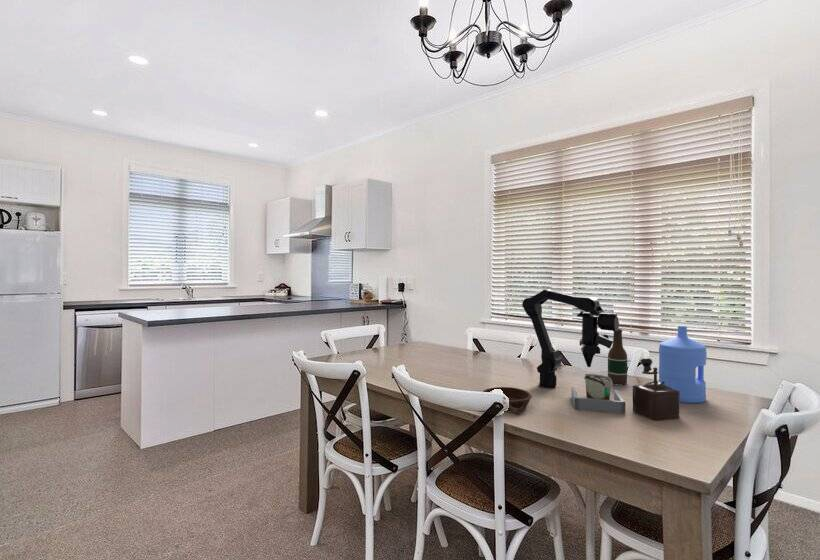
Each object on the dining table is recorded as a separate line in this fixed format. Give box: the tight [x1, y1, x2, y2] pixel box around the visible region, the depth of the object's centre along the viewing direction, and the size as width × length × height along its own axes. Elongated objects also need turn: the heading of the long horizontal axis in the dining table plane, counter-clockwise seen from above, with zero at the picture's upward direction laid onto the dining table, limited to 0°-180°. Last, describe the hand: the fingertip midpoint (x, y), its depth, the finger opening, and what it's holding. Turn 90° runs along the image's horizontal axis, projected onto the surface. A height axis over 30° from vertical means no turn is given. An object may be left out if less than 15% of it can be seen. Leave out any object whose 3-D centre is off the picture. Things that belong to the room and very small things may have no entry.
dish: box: [482, 386, 533, 414], centre depth 154 cm, size 18×22×5 cm
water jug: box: [658, 325, 707, 404], centre depth 163 cm, size 16×16×28 cm
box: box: [571, 386, 626, 414], centre depth 155 cm, size 16×15×4 cm
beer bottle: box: [607, 328, 628, 386], centre depth 185 cm, size 8×8×24 cm
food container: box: [584, 373, 614, 400], centre depth 156 cm, size 12×6×10 cm, turn 13°
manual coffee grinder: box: [632, 357, 681, 422], centre depth 147 cm, size 16×11×18 cm
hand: (588, 366), depth 168 cm, fingers closed
